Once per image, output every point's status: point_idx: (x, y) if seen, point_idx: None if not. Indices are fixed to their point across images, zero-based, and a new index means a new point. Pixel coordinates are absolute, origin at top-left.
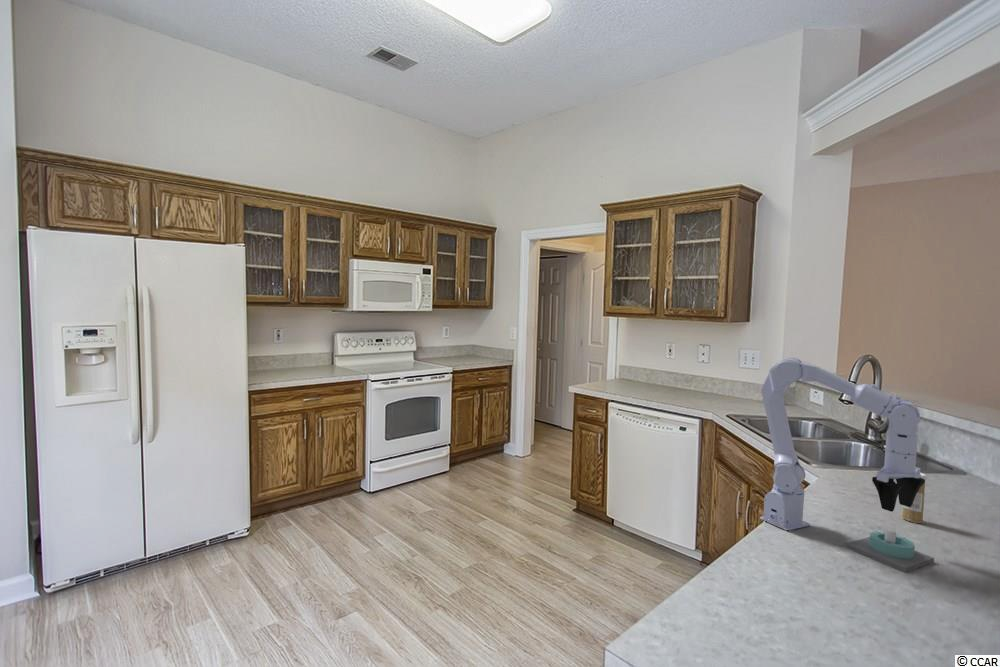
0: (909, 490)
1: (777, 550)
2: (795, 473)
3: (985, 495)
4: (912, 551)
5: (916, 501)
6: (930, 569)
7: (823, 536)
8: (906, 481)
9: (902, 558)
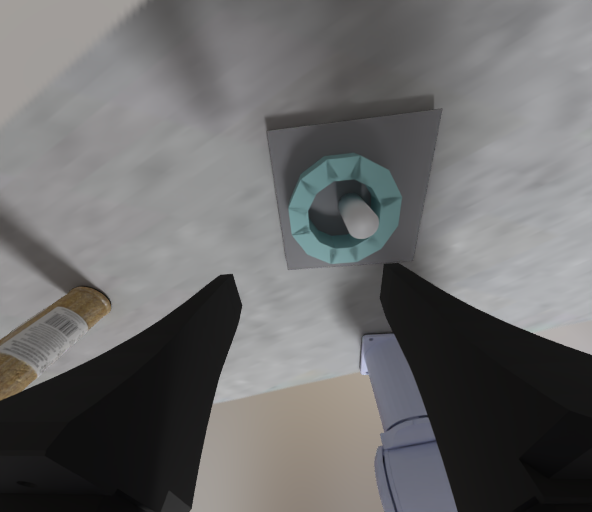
0: (192, 353)
1: (575, 285)
2: None
3: None
4: (336, 156)
5: (43, 332)
6: (331, 99)
7: None
8: (167, 439)
9: (371, 159)
